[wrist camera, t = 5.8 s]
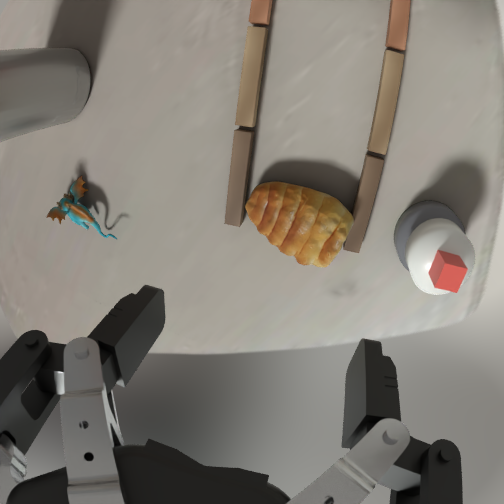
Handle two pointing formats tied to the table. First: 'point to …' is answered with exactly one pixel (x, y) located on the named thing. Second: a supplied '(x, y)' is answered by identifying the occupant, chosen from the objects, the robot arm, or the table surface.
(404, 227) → the button base
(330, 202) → the pastry
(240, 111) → the track
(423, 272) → the dome button
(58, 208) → the dragon figurine
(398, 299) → the table surface
